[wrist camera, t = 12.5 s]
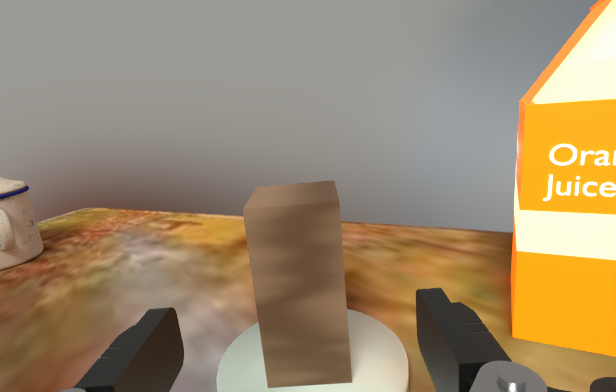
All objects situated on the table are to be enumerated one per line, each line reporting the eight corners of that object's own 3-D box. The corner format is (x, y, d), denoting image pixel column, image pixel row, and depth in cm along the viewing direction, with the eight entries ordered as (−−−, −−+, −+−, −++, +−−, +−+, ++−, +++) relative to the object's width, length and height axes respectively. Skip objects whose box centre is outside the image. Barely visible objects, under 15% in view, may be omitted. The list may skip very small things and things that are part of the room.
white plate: (200, 359, 24) (197, 343, 24) (340, 304, 29) (339, 290, 29) (260, 512, 15) (257, 489, 14) (452, 393, 20) (453, 375, 19)
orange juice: (509, 337, 24) (528, -6, 19) (509, 275, 31) (522, 19, 26) (674, 368, 20) (751, -47, 15) (628, 290, 28) (669, -4, 22)
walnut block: (267, 388, 20) (242, 209, 17) (276, 335, 24) (257, 186, 21) (352, 382, 19) (339, 201, 17) (345, 331, 24) (334, 180, 21)
